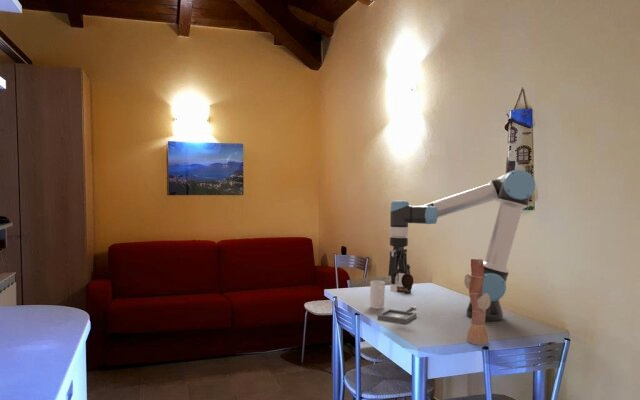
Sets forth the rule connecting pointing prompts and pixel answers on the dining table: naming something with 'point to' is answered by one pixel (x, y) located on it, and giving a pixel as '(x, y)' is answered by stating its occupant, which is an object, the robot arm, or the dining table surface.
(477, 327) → the brown tall piece
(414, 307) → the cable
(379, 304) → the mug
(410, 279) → the compass
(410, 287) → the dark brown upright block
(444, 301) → the dining table surface
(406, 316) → the grey square tray
